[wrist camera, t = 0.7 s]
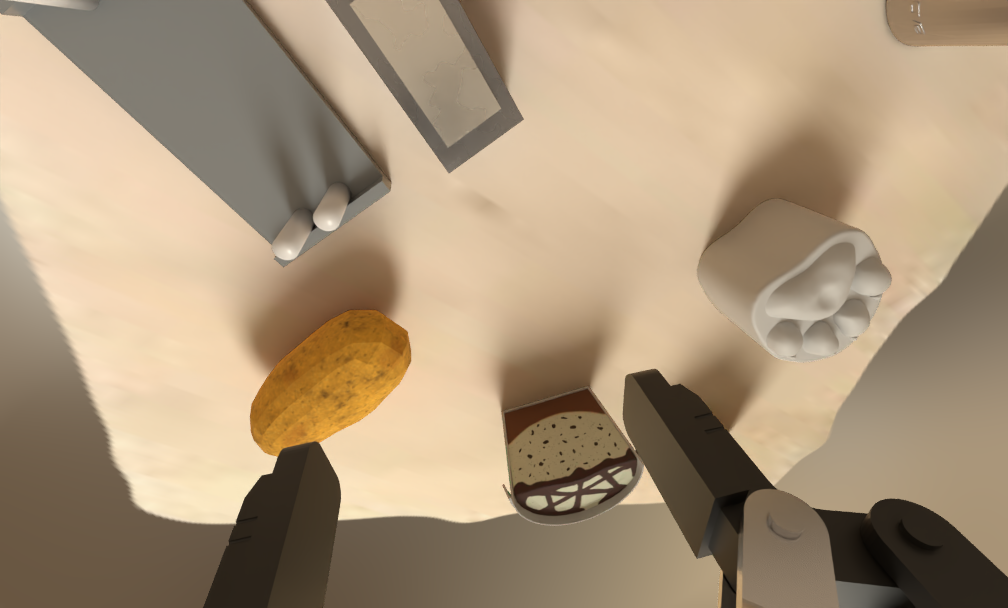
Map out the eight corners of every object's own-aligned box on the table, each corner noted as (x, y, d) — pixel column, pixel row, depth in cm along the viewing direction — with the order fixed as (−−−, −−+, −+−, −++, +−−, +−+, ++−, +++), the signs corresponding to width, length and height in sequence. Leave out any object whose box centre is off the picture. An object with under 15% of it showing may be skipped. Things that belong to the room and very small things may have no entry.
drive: (408, -63, 22) (408, -91, 18) (506, 109, 27) (524, 119, 23) (333, 0, 23) (316, -13, 18) (442, 155, 28) (449, 174, 24)
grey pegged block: (148, -123, 19) (58, -183, 14) (391, 183, 28) (387, 210, 23) (16, 0, 20) (-108, -16, 15) (290, 255, 29) (267, 295, 24)
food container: (499, 452, 45) (520, 544, 36) (487, 415, 41) (506, 507, 33) (605, 420, 46) (650, 503, 37) (602, 381, 42) (649, 462, 34)
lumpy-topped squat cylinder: (785, 181, 34) (886, 216, 27) (828, 273, 41) (919, 321, 33) (683, 266, 37) (751, 319, 29) (739, 339, 43) (806, 397, 36)
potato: (433, 329, 35) (438, 385, 29) (312, 418, 37) (294, 487, 31) (371, 272, 31) (362, 324, 25) (241, 375, 34) (205, 444, 28)
